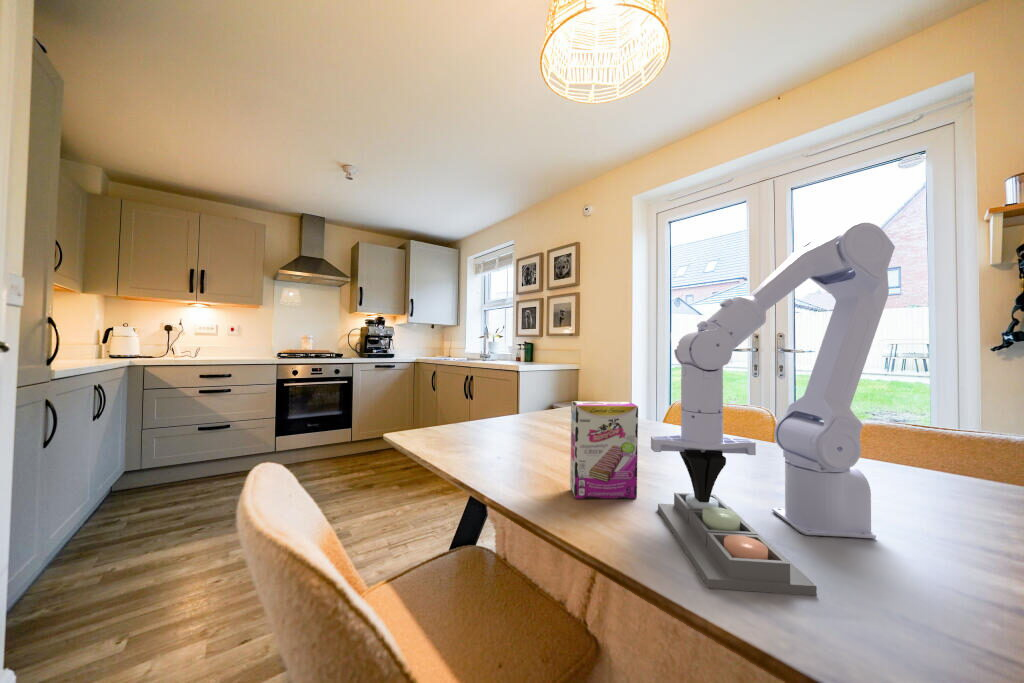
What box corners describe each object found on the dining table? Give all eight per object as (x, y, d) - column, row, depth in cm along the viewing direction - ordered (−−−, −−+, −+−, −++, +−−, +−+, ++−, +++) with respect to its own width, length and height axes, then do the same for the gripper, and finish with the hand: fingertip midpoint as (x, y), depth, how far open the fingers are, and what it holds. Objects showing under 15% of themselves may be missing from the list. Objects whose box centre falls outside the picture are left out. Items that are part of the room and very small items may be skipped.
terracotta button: (755, 552, 46) (755, 536, 46) (776, 573, 42) (776, 555, 42) (717, 550, 47) (717, 533, 47) (734, 571, 42) (734, 553, 42)
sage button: (730, 522, 53) (730, 507, 53) (746, 538, 48) (746, 522, 48) (697, 520, 53) (697, 506, 53) (710, 536, 49) (710, 520, 49)
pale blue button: (711, 507, 59) (711, 494, 59) (723, 520, 55) (723, 506, 55) (681, 506, 60) (681, 493, 60) (692, 518, 55) (692, 504, 55)
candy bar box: (575, 500, 65) (575, 404, 65) (569, 489, 70) (569, 400, 70) (639, 499, 65) (639, 404, 66) (629, 488, 70) (629, 400, 71)
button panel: (729, 513, 60) (729, 494, 60) (816, 595, 40) (816, 567, 40) (658, 509, 61) (657, 491, 61) (708, 588, 41) (708, 560, 42)
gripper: (739, 407, 61) (739, 492, 61) (646, 405, 62) (645, 487, 62) (763, 415, 54) (763, 511, 54) (657, 412, 55) (657, 505, 55)
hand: (701, 500), depth 57 cm, fingers closed, pressing on pale blue button
